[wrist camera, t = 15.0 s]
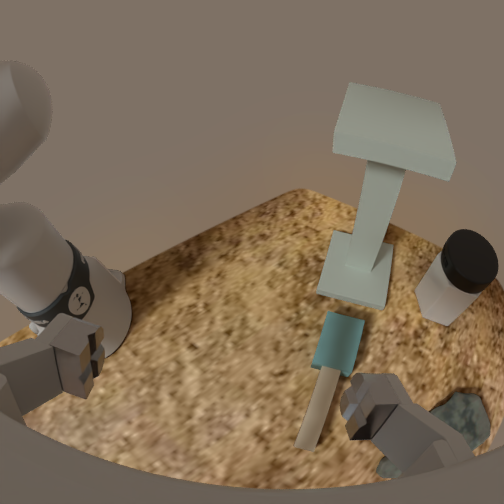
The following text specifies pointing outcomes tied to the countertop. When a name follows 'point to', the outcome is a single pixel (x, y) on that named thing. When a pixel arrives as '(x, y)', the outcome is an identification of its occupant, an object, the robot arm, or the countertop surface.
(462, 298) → the jar
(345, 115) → the shelf stand
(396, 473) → the stone
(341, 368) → the mallet
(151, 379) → the countertop surface
